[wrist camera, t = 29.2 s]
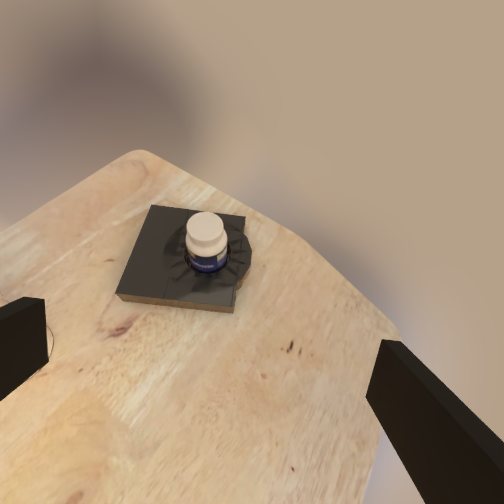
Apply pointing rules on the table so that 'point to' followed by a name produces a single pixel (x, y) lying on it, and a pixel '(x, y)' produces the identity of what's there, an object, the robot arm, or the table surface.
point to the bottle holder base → (183, 264)
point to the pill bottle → (206, 242)
